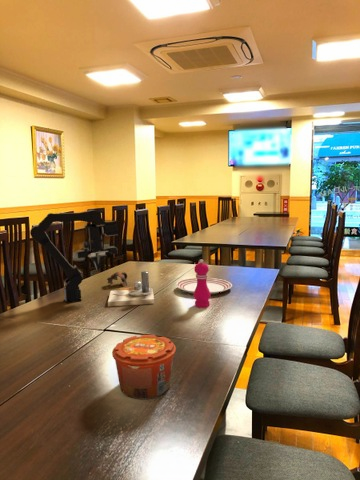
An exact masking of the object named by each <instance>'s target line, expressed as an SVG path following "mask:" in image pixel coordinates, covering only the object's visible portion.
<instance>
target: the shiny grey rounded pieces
mask: <svg viewBox="0 0 360 480" xmlns="http://www.w3.org/2000/svg"><path fill="white" fill-rule="evenodd" d="M140 277H141V280H140V281H139V280H136V281H133V287H119V289H118V290H129V295H130V296H136V297H139V296H146V295H149V294H150V284H149V283H150V280H149V277H150V276H149V271H146V270H144V271H141V272H140Z"/></svg>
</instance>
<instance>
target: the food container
mask: <svg viewBox="0 0 360 480" xmlns="http://www.w3.org/2000/svg"><path fill="white" fill-rule="evenodd" d="M176 350H177V347H176V345H175V344H174V342H172V341H171V339H170V338H168V337H165V336H161V337H158V336H157V335H155V334H141V335H140V336H137V335H135V336H130V337H127V338H124V339H123V340H122V341H121V342H117V344H116V345H115V346H114V348H113V349H112V353H111V355H112V358H113V359H114V361H115V367H116V371H117V378H118V383H119V388H120V391H121V393H123V394H124V395H125V396H127V397H130V398H133V399H141V400H147V399H148V400H149V399H154V398H157V397H160V396H161V395H163V394H165V393H166V392H167V391H168V390H169V389H170V388H171V385H172V384H171V383H172V373H173V363H174V356H175V355H176Z"/></svg>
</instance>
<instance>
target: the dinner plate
mask: <svg viewBox="0 0 360 480" xmlns="http://www.w3.org/2000/svg"><path fill="white" fill-rule="evenodd" d="M206 281H207V286H208V289H209V291H210V295H216V294H219V292H220V293H222V292H223V293H224V292H226V291H228V290H230V289H231V288H232V287H233V284H232V283H231V282H230V281H227V280H225V279H220V278H215V277H208V278H207V280H206ZM175 286H176V287H177V288H178V289H179V290H182V291H184V292H186V293H188V294H193V295H194V291H195V289H196V286H197V278H196V277H191V278H184V279H181V280H178V281H177V282H176V284H175Z"/></svg>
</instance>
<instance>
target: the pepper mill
mask: <svg viewBox="0 0 360 480" xmlns="http://www.w3.org/2000/svg"><path fill="white" fill-rule="evenodd" d="M198 261H199V263H196V265H194V273H195V278H197V286H196V289H195V291H194V294H193V299H194V300H195V301H194V306H195V307H197V308H200V309H202V308H203V309H204V308H207V307H210V305H211V304H210V299H211V297H212V296H211V295H212V294H210V291H209V289H208V286H207V281H206V280H207V278H209V276H208V272H209V270H210V268H209V265H208V264H207V263H205V262H204V259H199V260H198Z"/></svg>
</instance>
